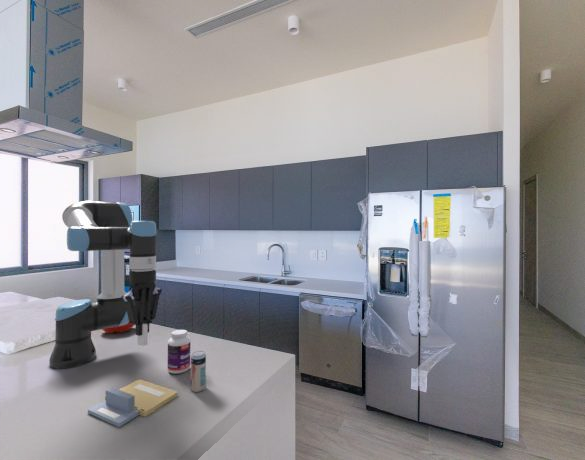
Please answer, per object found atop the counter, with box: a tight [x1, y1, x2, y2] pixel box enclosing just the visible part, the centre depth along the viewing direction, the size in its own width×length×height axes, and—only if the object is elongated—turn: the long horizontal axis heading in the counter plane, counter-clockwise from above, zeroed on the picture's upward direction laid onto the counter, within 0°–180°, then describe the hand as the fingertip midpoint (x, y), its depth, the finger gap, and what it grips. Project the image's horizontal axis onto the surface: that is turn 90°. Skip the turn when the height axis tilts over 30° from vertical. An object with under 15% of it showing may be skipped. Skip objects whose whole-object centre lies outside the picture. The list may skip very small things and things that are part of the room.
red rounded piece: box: [101, 323, 135, 334], centre depth 154 cm, size 14×16×10 cm
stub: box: [87, 387, 139, 428], centre depth 86 cm, size 14×6×5 cm, turn 65°
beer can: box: [190, 350, 207, 393], centre depth 100 cm, size 5×5×12 cm
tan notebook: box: [104, 379, 179, 418], centre depth 94 cm, size 18×12×1 cm, turn 65°
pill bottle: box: [167, 329, 191, 375], centre depth 113 cm, size 8×8×14 cm
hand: (142, 344), depth 94 cm, fingers closed
